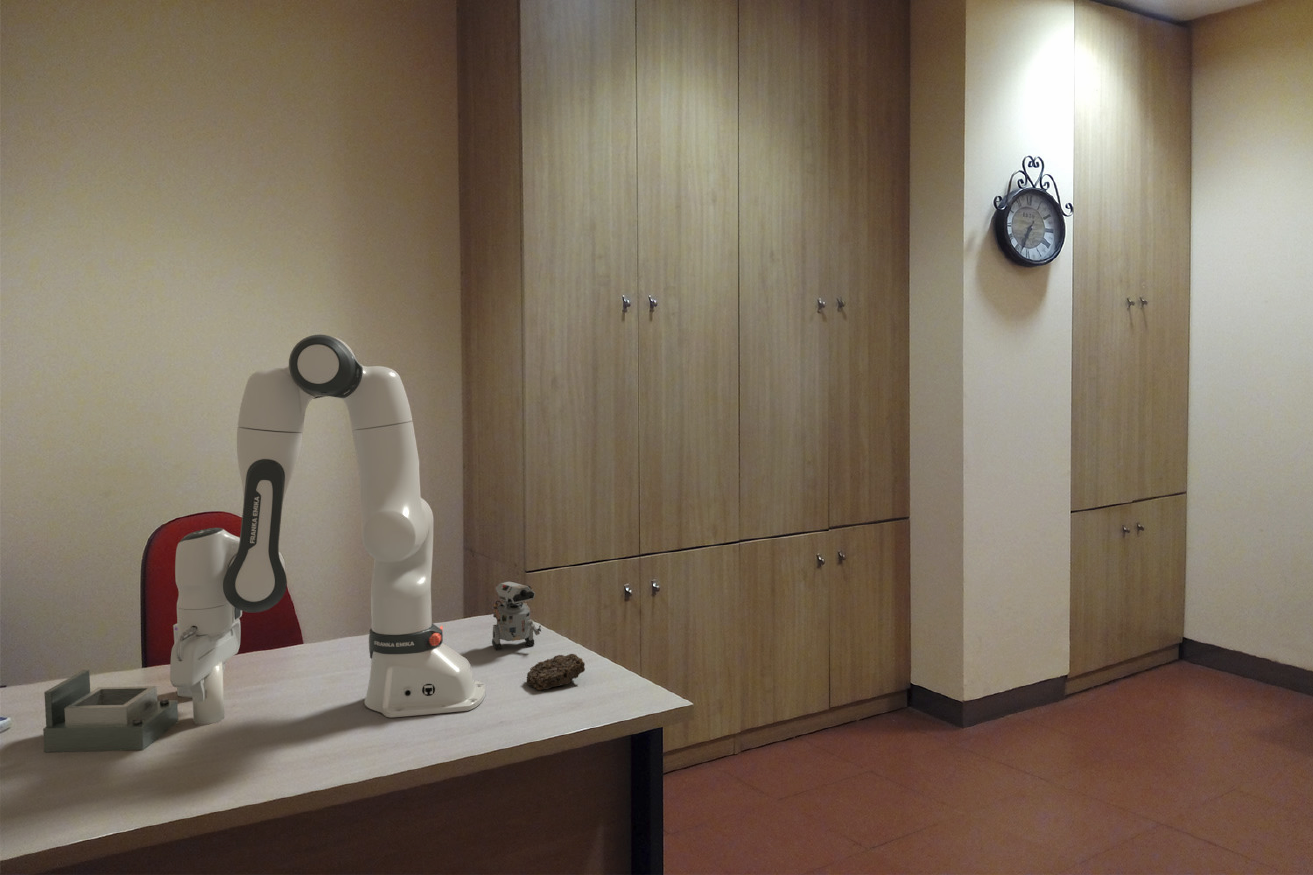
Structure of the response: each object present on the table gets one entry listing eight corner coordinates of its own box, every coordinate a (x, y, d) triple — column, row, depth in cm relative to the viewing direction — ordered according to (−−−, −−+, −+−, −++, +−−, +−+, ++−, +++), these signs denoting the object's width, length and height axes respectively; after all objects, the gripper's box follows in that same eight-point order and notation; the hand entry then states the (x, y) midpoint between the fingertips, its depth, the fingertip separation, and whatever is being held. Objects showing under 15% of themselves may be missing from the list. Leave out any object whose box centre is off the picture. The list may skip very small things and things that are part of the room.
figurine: (501, 658, 197) (500, 591, 196) (490, 643, 208) (489, 579, 207) (541, 653, 201) (541, 587, 199) (529, 639, 211) (528, 576, 210)
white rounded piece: (229, 713, 166) (227, 660, 165) (217, 724, 161) (214, 669, 160) (187, 714, 165) (185, 661, 164) (174, 725, 160) (172, 670, 159)
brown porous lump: (574, 671, 189) (574, 647, 189) (589, 686, 180) (589, 661, 179) (520, 678, 185) (520, 654, 184) (533, 694, 175) (533, 669, 175)
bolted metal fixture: (178, 721, 162) (175, 667, 161) (143, 749, 150) (140, 691, 149) (86, 723, 161) (84, 669, 160) (44, 751, 149) (41, 693, 148)
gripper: (196, 635, 151) (199, 715, 152) (245, 604, 172) (248, 675, 173) (157, 636, 151) (161, 716, 152) (212, 604, 171) (215, 675, 172)
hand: (208, 694), depth 163 cm, fingers closed on white rounded piece, 5 cm apart
